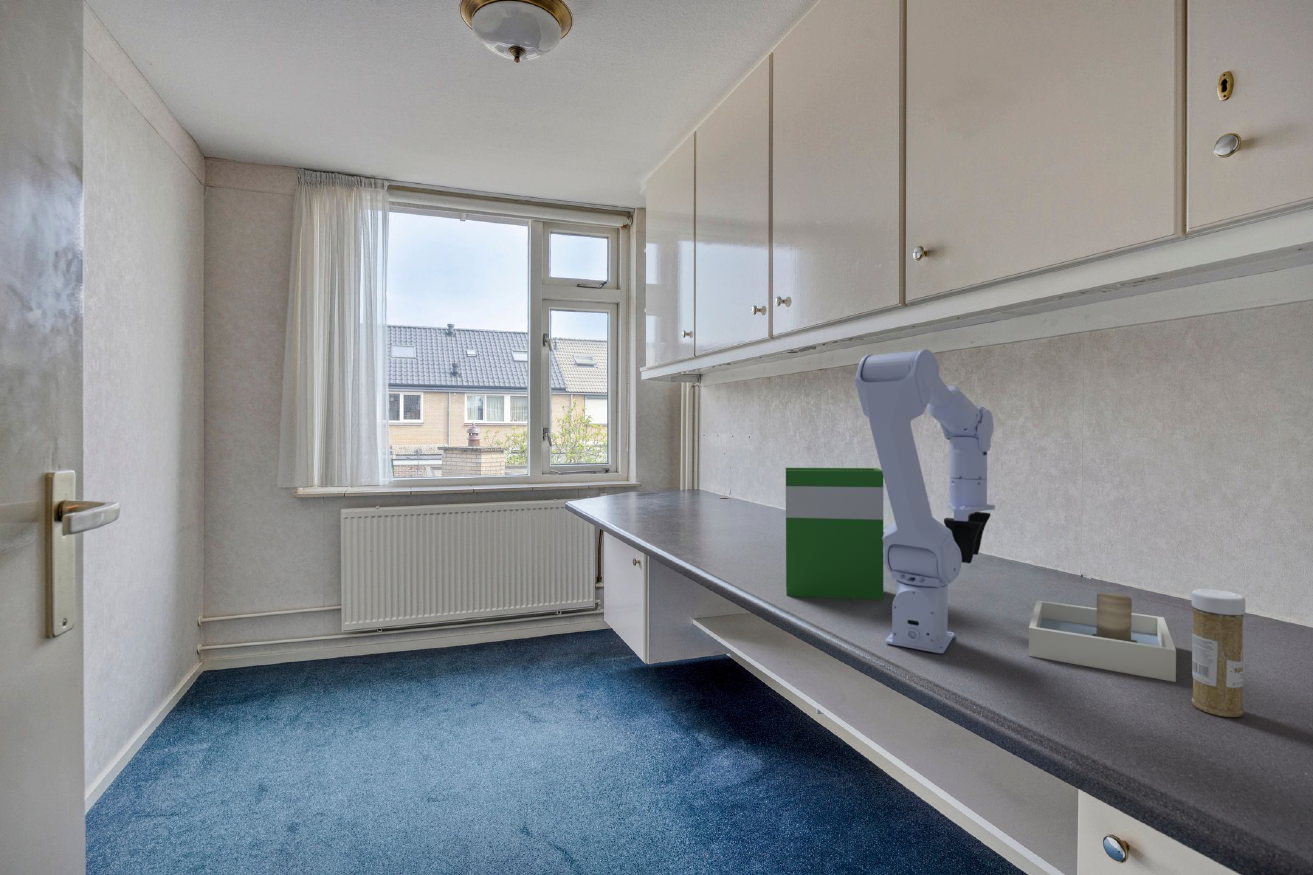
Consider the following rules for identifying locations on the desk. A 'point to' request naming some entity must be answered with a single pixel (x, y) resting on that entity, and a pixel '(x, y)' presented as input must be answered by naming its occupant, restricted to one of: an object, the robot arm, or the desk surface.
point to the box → (1101, 641)
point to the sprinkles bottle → (1217, 652)
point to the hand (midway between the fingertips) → (967, 557)
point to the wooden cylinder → (1114, 616)
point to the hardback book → (834, 532)
